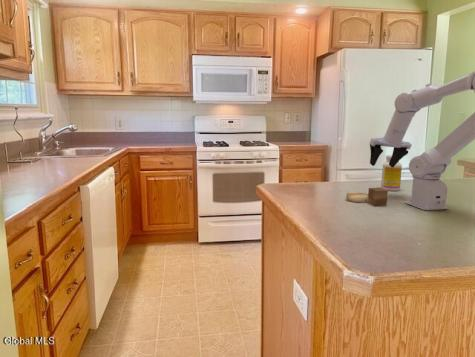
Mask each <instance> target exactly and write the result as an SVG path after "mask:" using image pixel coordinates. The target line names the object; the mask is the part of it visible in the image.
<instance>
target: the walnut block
mask: <svg viewBox="0 0 475 357" xmlns="http://www.w3.org/2000/svg"><path fill="white" fill-rule="evenodd" d="M367 195H368V200H367V204H368V205H370V206H373V207H386V206H387V202H388V190H386V189H383V188H381V187H369V188H368V194H367Z"/></svg>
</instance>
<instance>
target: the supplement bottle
mask: <svg viewBox="0 0 475 357" xmlns="http://www.w3.org/2000/svg"><path fill="white" fill-rule="evenodd" d="M391 157H392V154H388V155H386V156H385V162H383V164H382V168H381V181H380V182H381V183H380V188H383V189H386V190H388V191H390V192H391V191H392V192H395V191H396V192H397V191H400V189H401V181H402V180H401V179H402V167H403V165H402V163H401V162H399V161H400V160H399V161H398V162H397V164H396V165H395V166H394V167H391V166H390V165H389V162H390V159H391Z"/></svg>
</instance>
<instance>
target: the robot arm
mask: <svg viewBox="0 0 475 357" xmlns="http://www.w3.org/2000/svg"><path fill="white" fill-rule="evenodd" d="M470 90H471V91H473V92H474V93H475V71H472V72H470V73H468V74H467V75H464V76H461V77H459V78H457V79H454V80H452V81H449V82H446V83H444V84H442V85H438V84H436V83H435V84H434V83H427V84H425V87H423V88H419V89H413V90H411V92H410V93H408V92H401V93H400V94H398V95H397V96H396V98H395V100H394V109H395V110H394V112H393V114H392V117H391V120H390V122H389V124H388V127H387V130H386V131H385V133H384V136H383V137H376V138H371V139H370V141H369V149H370V157H369V158H370V159H369V164H370V165H371V166H375V165H376V164H377V161H378V159H379V157H380V156H381V155H382V153H383V152H384V149H383V148H382V147H387V148H388V147H389V148H393V150H392V154H391V155H392V157H391V159H390V162H389V165H390V166H391V167H394V166H395V165H396V164H397V162H398V161H400V160H401V159H403V158H404V157H405V156H407V155H408V153H409V150H411V147H412V143H411V142H410V141H404V138H405V135H406V132H407V131H408V128H409V127H410V124H411V122H412V120H413V118H414V117H415V115H416V113H418V112H420V111H421V110H422V109H423V108H427V107H430V106H434V105H437V104H439V103H441V102H442V100H443V98H444V97H448V96H452V95H455V94H459V93H463V92H465V91H470ZM474 140H475V111H474V112H473V113H472V114H471V115H470V116H468V117H467V119H465V120H464V121H463V122H462V123H461V124H459V125H458V126H457V127H456V128H455V129H454V130H453V131H452V132H450V133H448V135H447V136H445V137H444V138H443V140H441V141H440V142H438V144H436V145H435V146H434V147H432V148H430V149H427V150H426V151H424V152H422V153H421V154H420V155H417V156H414V157H412V158H411V159H410V160H409V163H408V170H409V173H410V174H411V177H412V188H411V198H410V200H405V201H404V202H403V203H405V204H408V205H409V206H413V207H415V208H418V209H419V210H420V209H421V210H422V211H423V210H424V211H435V210H448V207H447V206H446V204H447V196H448V195H447V194H448V186H447V183H445V182H444V181H442V180H441V178H442V175H443V174H444V173H445V171H446V169H447V167H448V166H449V165H450V164H451V163H452V158H453V157H455V156H456V155H457V154H458V153H460V152H461V151H462V150H463V149H465V147H467V146H468V145H469V144H471V143H472V142H473V141H474Z"/></svg>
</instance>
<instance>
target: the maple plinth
mask: <svg viewBox="0 0 475 357" xmlns="http://www.w3.org/2000/svg"><path fill="white" fill-rule="evenodd" d="M345 200H346V201H347V202H350V203H355V204H362V203H365V204H366V203H368V194H367V193H365V192H357V191H354V192H351V191H350V192H347V193H346V199H345Z"/></svg>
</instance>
